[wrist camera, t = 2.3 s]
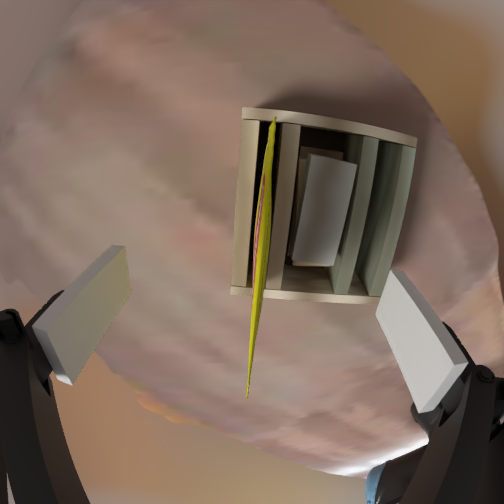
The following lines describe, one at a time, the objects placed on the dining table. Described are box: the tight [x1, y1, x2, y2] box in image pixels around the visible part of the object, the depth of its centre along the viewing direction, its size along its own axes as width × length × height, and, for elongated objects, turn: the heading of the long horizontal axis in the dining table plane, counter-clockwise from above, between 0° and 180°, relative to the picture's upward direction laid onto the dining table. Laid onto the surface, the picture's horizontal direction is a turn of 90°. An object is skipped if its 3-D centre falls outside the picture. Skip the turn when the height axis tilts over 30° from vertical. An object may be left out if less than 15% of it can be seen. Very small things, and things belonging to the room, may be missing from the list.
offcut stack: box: [286, 145, 357, 266], centre depth 28 cm, size 5×12×6 cm, turn 176°
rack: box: [231, 107, 417, 305], centre depth 28 cm, size 16×18×6 cm
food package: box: [246, 116, 277, 398], centre depth 22 cm, size 15×1×20 cm, turn 176°
